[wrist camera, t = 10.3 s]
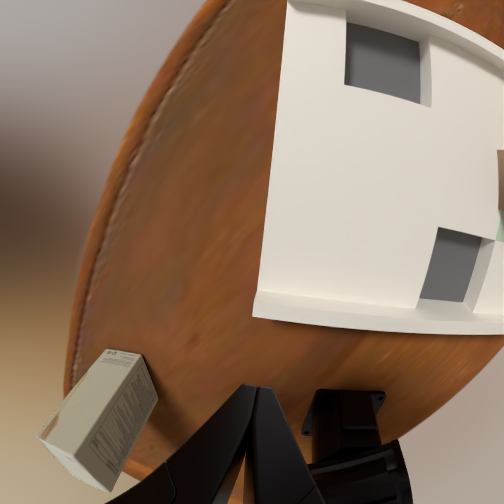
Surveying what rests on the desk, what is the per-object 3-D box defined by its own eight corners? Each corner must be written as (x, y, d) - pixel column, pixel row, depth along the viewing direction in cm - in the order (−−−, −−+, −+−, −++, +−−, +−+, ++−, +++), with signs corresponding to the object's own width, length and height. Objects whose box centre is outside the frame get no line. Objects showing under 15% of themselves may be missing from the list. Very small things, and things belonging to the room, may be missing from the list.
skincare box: (106, 346, 23) (31, 431, 12) (143, 352, 23) (71, 454, 11) (125, 394, 25) (70, 477, 14) (160, 401, 25) (110, 496, 13)
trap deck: (500, 314, 17) (520, 333, 14) (259, 290, 19) (252, 316, 16) (533, 96, 11) (558, 92, 8) (289, 5, 13) (287, -22, 10)
